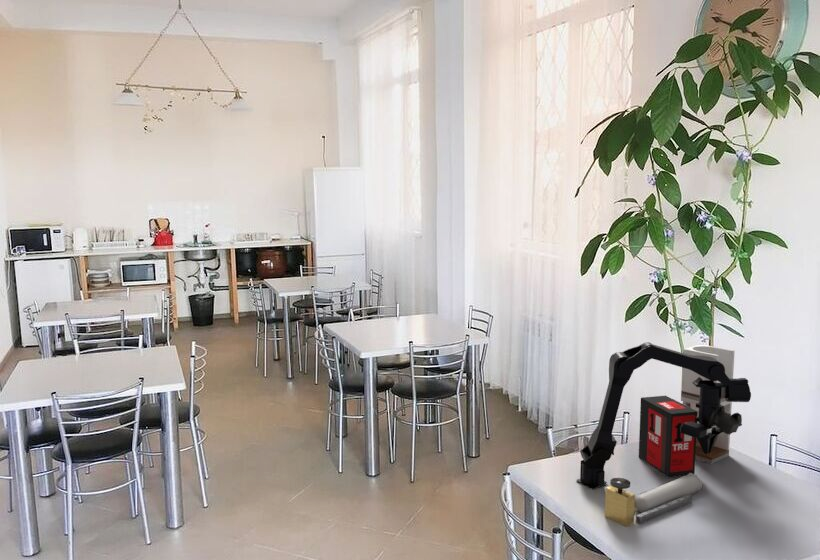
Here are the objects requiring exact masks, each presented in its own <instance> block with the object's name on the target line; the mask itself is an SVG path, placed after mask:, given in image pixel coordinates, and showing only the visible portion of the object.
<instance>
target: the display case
mask: <svg viewBox="0 0 820 560" xmlns="http://www.w3.org/2000/svg"><path fill="white" fill-rule="evenodd" d="M682 353H684V354H688V355H693V356H696V355H701V356H709V357H713V358H715V359H716V360H718V361H719V362H720V363H722V364H723V365H724V367H725V374H726V375H727V377H728V378H729V379H734V369H735V367H734V366H735V350H734V349H728V348H723V347H718V346H717V347H716V346H712V345H707V344H697V345H693V346H690V347H686V348H682ZM698 377H700V378H701V379H702V380H709V379H707V378H705V377H703V376H701V375H699V374H697V373H695V372H693V371H691V370H689V369H686V368H683V367H681V387H680V388H681V391H680V402H682V404H684V405H686V406H688V407H690V408H692V409H694V410H696V411H698V414H697V417H698V416H699V408H697V407H696V403H699V395H700V387H696V386H695V385H694V384H692V382H693V381H695V380H696V379H697V378H698ZM714 383H721V382H719V381H714ZM721 405H723V406H724V408H725V412H726V413H727V414H729V413H730V414H731V415H732V408H733V407H732V405H733V402H727V401H726V400H725V398H722V396H721ZM697 423H698V424H700V423H699V422H698V421H697ZM730 440H731V434H726V433H724V432H723V433H721V434H720V435H719V436H718V437H717V439H716V442H715V444H714V446H713V449H712V451H711V453H708V454H705V453H704V452H703V450H702V448H701V446H700V443H699V441H698V439H697V438H696V455H695V460H698V461H702V462H705V463H708V464H710V465H712V464H714V463H716V462H718V461H721V460H722V459H724V458H727V457H729V456H730V442H731V441H730Z"/></svg>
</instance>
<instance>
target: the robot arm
mask: <svg viewBox="0 0 820 560" xmlns="http://www.w3.org/2000/svg"><path fill="white" fill-rule="evenodd" d="M650 360H654V361H659V362H662V363H666V364H670V365H673V366H675V367H679V368H682V367H683V368H686V369H689V370H691V371H693V372H695V373H697V374H699V375H701V376H703V377H705V378H707V379H709V380H702V379H701V378H700V377H698V378H697V379H696V380H695V381H693V382H692V384H694V385H695V386H696V387H700V395H699V403H696V407H697V408H699V416H698V417H695V421H698V422H699V423H700V424H698V423H694V422H691V421H690V422H687V423H684V424H682V425H681V427H680V432H681V433H683V434H686V435H689V436H692V437H695V438H697V439H698V441H699V443H700V446H701V448H702V450H703V452H704V453H705V454H708V453H711V451H712V449H713V446H714V444H715V442H716V439H717V437H718V436H719V435H720V434H721V433H723V432H724V433H726V434H730V435H732V434H734V433H737V432H738V429H739V427H742V426H743V423H742V421H743V418H742V414H740V413H739V412H735V413H731V414H730V413H729V414H727V413H726V412H725V408H724V406H723V405H721V396H722V398H725V400H726V401H727V402H732V403H749V402H750V400H751V398H752V393H751V388H750V386H749V380H748V379H747V378H746V377H739V378H733V379H729V378H728V377H727V375H726V374H725V367H724V365H723V364H722V363H720V362H719V361H718V360H716V359H715V358H713V357H709V356H701V355H696V356H693V355H688V354H684V353H683V352H681V351H680V352H679V351H677V350H673V349H671V348H667V347H663V346H660V345H657V344H653V343H651V342H647V341H646V342H643V343H641V344H639V345H637V346H633V347H631V348H628V349H626V350H623V351H617V352H614V353H613V354H611V355H610V358H609V362H608V384H607V388H606V392H605V396H604V400H603V404H602V407H601V411H600V416H599V418H598V419H599V420H598V423H597V426H596V427H595V429H594V430H593V432H592V433H591V435H590V437H589V440H588V442H587V444H586V446H584V447H583V448H582V449H581V450H580V451H579V453H580V456H581V459H582V460H580V477H579V478H578V479H576V483H578V484H580V483H581V485H583V486H585V487H588V488H589V489H591V488H592V490H593V489H596V487H597V488H600V487H602V485H603V486H605V485H604V484H606V483H607V484H608V481H606V480H605V465H606V462H607V461H609V460H610V459H611V458H612V456H615V449H616V445H617V440H616V437H614V435H613V430H614V425H615V423H616V419H617V416H618V411H619V408H620V402H621V400H622V395H623V393H624V389H625V386H626V385H627V384H628V382H629V381H630V379H631V377H632V375H633V373H634V371H635V370H637V369H639V368H640V367H642V366H643V365H644V364H646V363H647V362H648V361H650ZM714 381H719V382H721V383H714ZM607 484H606V485H607ZM599 486H600V487H599Z"/></svg>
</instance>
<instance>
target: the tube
mask: <svg viewBox="0 0 820 560" xmlns="http://www.w3.org/2000/svg"><path fill="white" fill-rule="evenodd" d="M702 485H703V481H702V480H701V478H700V477H699V476H698V475H697V474H696V473H695V474H692V473H689V474H688V475H686V476H680V477H678V478H677V479H674V480H672V481H670V482H667V483H664V484H662V485H659V486H657V488H656V487H654V489H653V488H651V489H652V490H651V489H649V490H650V491H648V490H646V491H647V492H645V491H644V492H645V493H643V492H641V493H642V494H640V493H639V494H640V495H639V496H638V497H637V498H636V499H635V501H634V503H635V507H636V512H640V513H643V512H646V511H648V510H651V509H654V508H656V507H659V506H661V505H664V504H666V503H669V502H671V501H674V500H676V499H679V498H681V497H684V496H686V495H692V494H695V493H699V491H701V490H702V488H703V486H702Z"/></svg>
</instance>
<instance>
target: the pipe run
mask: <svg viewBox="0 0 820 560" xmlns="http://www.w3.org/2000/svg"><path fill="white" fill-rule="evenodd" d="M630 487H631V481H630V480H629V479H627V478H622V477H614V478H611V479H610V486H608V487H605V497H604V498H605V503H604V517H605V516H606V517H605V518H607V519H609V520H612V521H613V522H616V523H618V524H619V525H620V526H623V527H629V526H632V525H634V523H636V524H638V525H642V524H644V523H647V522H649V521H652V520H654V519H656V518H657V519H658V518H659V517H661V516H664V515H666V514H669V513H671V512H674V511H676V510H678V509H681V508H683V507H686V506H688V505H690V504H692V503H693V495H692V494H690V495H686V496H684V497H681V498H679V499H676V500H674V501H671V502H669V503H666V504H664V505H661V506H659V507H656V508H654V509H651V510H648V511H646V512H640V513H639V514H637V515H636V513H637V509H636V507H635V503H634V501H635V499H636V498H637V497H638V496H639V495H640V494H642V493H645V492H647V491H650V490H652V489H654V488H657V487H658V486H657V487H654V488H651V489H649V490H646V491H643V492H640V493H637V494H634V493H632V492H629V491H628V490H626V489H628V488H630Z"/></svg>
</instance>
